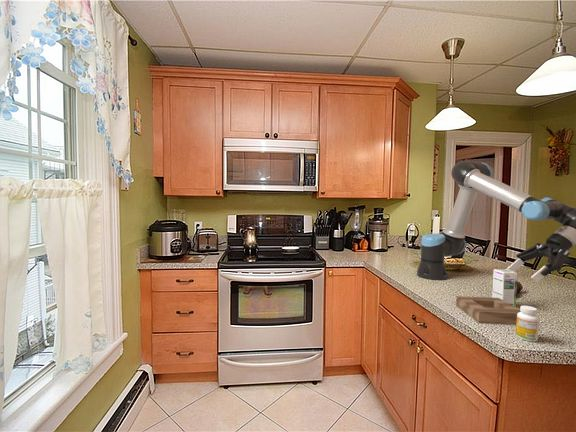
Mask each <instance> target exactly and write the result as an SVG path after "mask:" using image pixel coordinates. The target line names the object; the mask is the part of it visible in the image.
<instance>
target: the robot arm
mask: <svg viewBox="0 0 576 432" xmlns="http://www.w3.org/2000/svg"><path fill="white" fill-rule="evenodd" d="M450 174H451V178H452V179H453V180H454V181H455V183H458V184H457V185H458V187H459V191H458V193H457V196H456V198H455V202H454V206H453V208H452V211H451V214H450V217H449V220H448V223H447V226H446V228H445V229H443V230H442V231H441V233H427V234H423V236H421V243H420V244H421V246H420V262H419V265H418V268H417V269H416V276H417V277H418V278H419V277H420V278H422V279H427V280H435V281H437V280H438V281H441V280H443V281H444V280H447V278H448V273H447V269H446V267H445V257H455V256H458V255H461V254H462V253H464V252H465V250H466V248H467V242H466V240H465V238H466V235H465V234H464V231H465V229H466V226H467V224H468V220H469V218H470V215H471V213H472V209H473V207H474V205H475V204H474V203H475V202H476V198H477V196H478V193H479V192H480V193H481V194H484V195H486V196H488V197H490V198H492V199H493V200H496V201H498V202H500V203H502V204H504V205H506V206H508V207H510V208H512V209H513V210H516V211H518V212H520V213H521V214H522V216H523V217H525V218H526V219H528V220H530V221H531V220H532V221H544V220H553V221H554V222H557V223H559V224H562V225H561V226H560V227H558V228H557V229H556V231H554V233H551V234H550V235H549V236H548V237H547V238H546V239H545V241H546V243H544V244H541V243H540V242H537V243H535V245H533V246H532V247H529V248H527V249H525V250H523V251H522V252H519V253H518V254H516V255H515V257H516V258H517V259H515V261H513V262H512V264H511V265H509V266H508V267H507V268H506V269H507V270H512V271H515V272H516V271H517V270H518V269H519V268H521V267H522V266H523V265H524V264H525V262H528V261H530V260H533V259H536V258H538V257H540V258H543V257H544V258H545V257H546V258H547V262H546V263H547V264H545V265H543V266H542V267H541V268H540V269H539V270H538V271H536V272H535V273H534V274H533V275H532V276H530V278H531V279H532V280H533V281H534V282H535V283H539V282H540V281H542V279H543V278H544V277H547V276H548V275H549V274H550V273H552V272H554V271H556V272H561V270H562V268H563V266H564V263H565V261H566V259H567V258H568V256H569V255H570V254H571V252H570V251H569V250H570V249H571V248H572V247H573V246H575V245H576V208H575V207H573V206H571V205H569V204H565V203H563V202H561V201H559V200H557V199H553V198H551V197H543V198H541V199H539V198H536V197H534V196H532V195H530V194H528V193H526V192H524V191H521V190H519V189H517V188H515V187H512V186H510V185H508V184H506V183H503V182H502V181H500V180H497V179H495V178H493V170H492V168H491V166H490V165H489V164H487V163H485V162H483V161H474V160H472V161H471V160H461V161H459V162H457V163H456V164H454V166H452V169H451V172H450Z"/></svg>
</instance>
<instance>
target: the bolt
mask: <svg viewBox="0 0 576 432" xmlns="http://www.w3.org/2000/svg"><path fill="white" fill-rule="evenodd" d="M523 289H524V286H523V285H522V283H521V282H520V281H517V291H516V295H517V294H518V293H520V292H521V291H522V290H523Z"/></svg>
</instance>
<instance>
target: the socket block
mask: <svg viewBox="0 0 576 432" xmlns="http://www.w3.org/2000/svg"><path fill="white" fill-rule="evenodd" d="M455 303H456V304H455V306H456V307H457V308H459V310H461V311H462V312H463V313H465V314H466V315H468V316H469V317H470V318H471V319H473V320H474V321H475V322H477V323H478V324H479V323H480V324H497V325H498V324H499V325H500V324H501V325H516V324H517V314H518V313H519V312H521V311H520V308H518V307H517V306H516V307H515V306H513V305H511V304H509V303H507V302H505V301H503V300H502V299H500V298H493V297H492V296H491V297H490V296H489V297H488V296H468V295H467V296H463V295H462V296H461V295H456V302H455Z"/></svg>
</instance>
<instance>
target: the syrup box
mask: <svg viewBox="0 0 576 432" xmlns="http://www.w3.org/2000/svg"><path fill="white" fill-rule="evenodd" d="M492 273H493V274H492V275H493V276H492V277H493V278H492V296H491V297H493V298H500V299H502V300H503V301H505V302H507V303H509V304H511V305H513V306H515V307H516V308H517V294H516V291H517V282H518V272H516V271H512V270H508V269H507V268H505V269H499V268H497V269H493V271H492Z"/></svg>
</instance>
